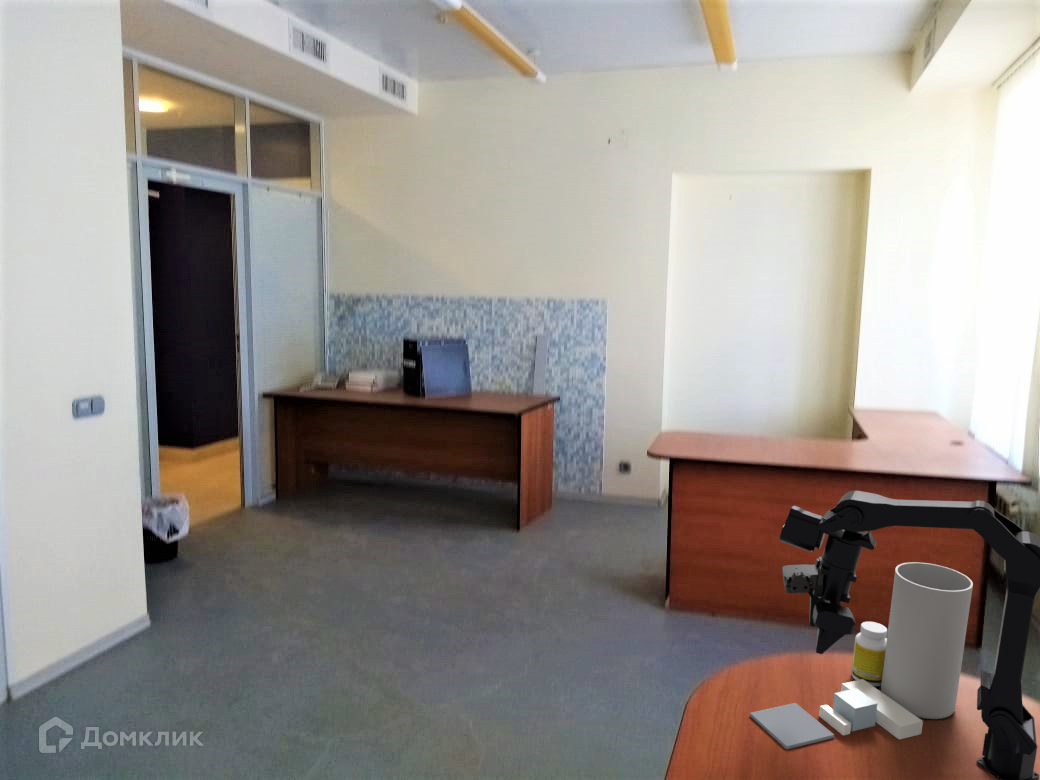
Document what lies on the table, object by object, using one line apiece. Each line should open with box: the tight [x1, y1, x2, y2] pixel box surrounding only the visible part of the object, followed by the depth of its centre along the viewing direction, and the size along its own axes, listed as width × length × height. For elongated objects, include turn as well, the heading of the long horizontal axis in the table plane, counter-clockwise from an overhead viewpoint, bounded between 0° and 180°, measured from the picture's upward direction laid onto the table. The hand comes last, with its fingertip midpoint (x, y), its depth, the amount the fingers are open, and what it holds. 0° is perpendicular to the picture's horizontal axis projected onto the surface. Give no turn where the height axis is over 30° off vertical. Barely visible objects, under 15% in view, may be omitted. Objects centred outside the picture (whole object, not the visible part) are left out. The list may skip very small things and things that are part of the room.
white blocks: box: [818, 679, 924, 740], centre depth 141 cm, size 14×14×2 cm
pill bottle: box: [851, 621, 888, 687], centre depth 153 cm, size 6×6×11 cm
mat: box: [749, 702, 835, 750], centre depth 138 cm, size 10×10×1 cm
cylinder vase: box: [880, 561, 974, 720], centre depth 145 cm, size 12×12×25 cm
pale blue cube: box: [832, 688, 878, 732], centre depth 140 cm, size 5×5×4 cm
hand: (815, 639), depth 141 cm, fingers open, 9 cm apart
